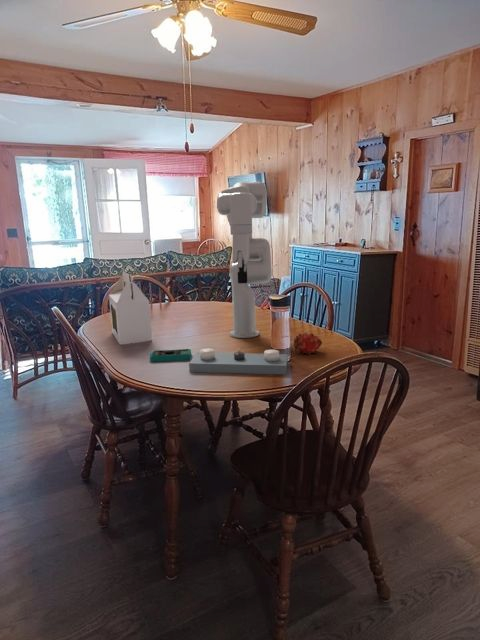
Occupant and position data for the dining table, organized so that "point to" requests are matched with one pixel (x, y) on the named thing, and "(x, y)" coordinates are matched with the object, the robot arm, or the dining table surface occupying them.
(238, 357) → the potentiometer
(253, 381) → the dining table surface
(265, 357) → the knob
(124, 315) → the gable box
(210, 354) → the knob
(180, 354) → the digital multimeter
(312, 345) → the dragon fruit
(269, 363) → the mount board
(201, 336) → the dining table surface
